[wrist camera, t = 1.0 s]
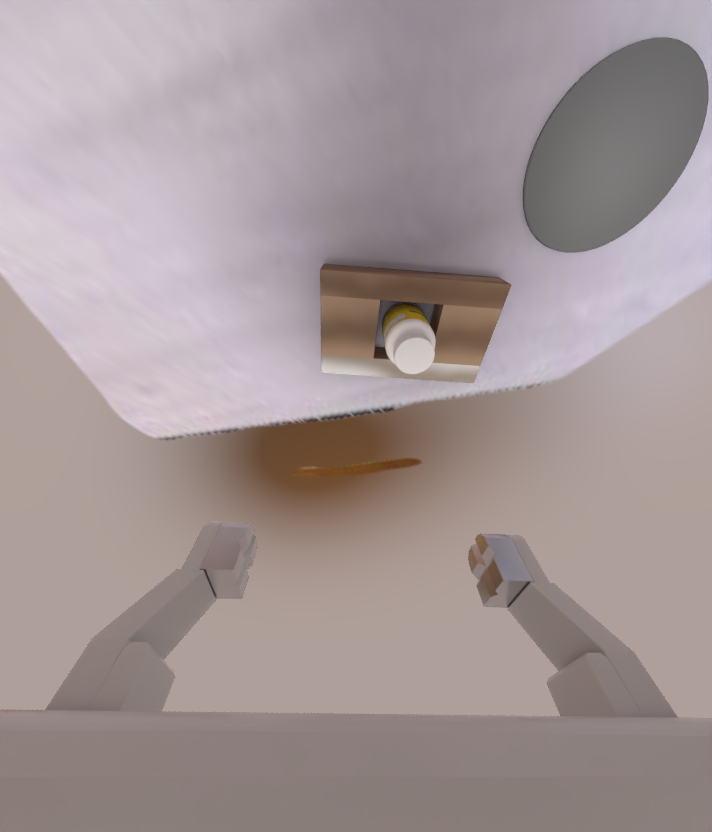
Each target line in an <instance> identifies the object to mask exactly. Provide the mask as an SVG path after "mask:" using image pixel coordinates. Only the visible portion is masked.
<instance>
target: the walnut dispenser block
mask: <svg viewBox="0 0 712 832" xmlns="http://www.w3.org/2000/svg"><path fill="white" fill-rule="evenodd" d="M320 283H321V363H322V373H335V374H349V375H364V376H378V377H393V378H407V379H421V380H436V381H450V382H465V383H474V381H475V378H476V376H477V373H478V370H479V368H480V365H481V363H482V360H483V357H484V355H485V352H486V350H487V347H488V344H489V342H490V339H491V337H492V334H493V331H494V329H495V326H496V324H497V321H498V318H499V316H500V313H501V310H502V308H503V305H504V303H505V300H506V297H507V295H508V292H509V290H510V287H511V284H509V283H508V282H506V281H504V280H502V279H500V278H497V277H485V276H472V275H459V274H447V273H434V272H421V271H408V270H396V269H383V268H370V267H357V266H345V265H332V264H324V265H323V266H322V268H321V270H320ZM380 300H388V301H401V302H414V303H428V304H435V308H434V312H433V316H432V320H431V325H430V326H431V328H432V330H433V332H434V334H435V339H436V344H435V349H434V351H435V356H434V360H433V362H432V364H431V365H430V366H429V367H428V368H427V369H426V370H425V371H423V372H421V373H418V374H407V373H404V372H402V371H401V370H400V369H399V368H398V367H397V366H396V365H395V364H394V363H393V362H392V361H391V360H390V359H389V357H388V355H387V353H386V349H385V348H378V347H375V341H376V332H377V323H378V315H379V306H380Z"/></svg>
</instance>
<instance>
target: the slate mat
mask: <svg viewBox="0 0 712 832" xmlns="http://www.w3.org/2000/svg"><path fill="white" fill-rule="evenodd" d="M707 105H708V80H707V73H706V70H705V67H704V64H703V62H702V60H701V59H700V57H699V55H698V54H697V52H696V51H695V50H693V49H692V48H691V47H690V46H689V45H688V44H686V43H684V42H682V41H680V40H676V39H672V38H652V39H647V40H642V41H640V42H637V43H634V44H632V45H629V46H627V47H625V48H623V49H621V50H619V51H618V52H616V53H614V54H612V55H610V56H609V57H607V58H606V59H604V60H603V61H602V62H600V63H599V64H597V65H596V66H595V67H593V68H592V69H591V70H590V71H589V72H588V73H586V74H585V75H584V76H583V77H582V78H581V79H580V80H579V81H578V82H577V83H576V84H575V85H574V86H573V87H572V88H571V89H570V90H569V92H568V93H567V94H566V95H565V96H564V98H563V99H562V100H561V101H560V103H559V104H558V106H557V107H556V108H555V110H554V111H553V113H552V114H551V116H550V117H549V119H548V121H547V122H546V124H545V126H544V127H543V129H542V131H541V133H540V135H539V137H538V139H537V142H536V144H535V146H534V149H533V151H532V154H531V157H530V160H529V163H528V167H527V170H526V175H525V181H524V189H523V207H524V213H525V218H526V221H527V224H528V226H529V228H530V230H531V232H532V234H533V235H534V236H535V237H536V239H537V240H539V241H540V242H541V243H542V244H543V245H545V246H547V247H549V248H551V249H554V250H557V251H562V252H583V251H588V250H591V249H595V248H598V247H600V246H603V245H605V244H607V243H609V242H611V241H613V240H615V239H617V238H618V237H620V236H622V235H623V234H625V233H626V232H628V231H629V230H630V229H632V228H633V227H635V226H636V225H637V224H638V223H639V222H641V221H642V220H643V219H644V218H645V217H646V216H647V215H648V214H649V213H650V212H651V211H652V210H653V209H654V208H655V207H656V206H657V205H658V204H659V203H660V202H661V201H662V199H663V198H664V197H665V196H666V195H667V194H668V192H669V191H670V190H671V188H672V187H673V186H674V184H675V183H676V181H677V180H678V178H679V177H680V175H681V174H682V172H683V171H684V169H685V167H686V165H687V163H688V162H689V160H690V158H691V156H692V154H693V152H694V149H695V147H696V145H697V143H698V140H699V137H700V134H701V131H702V129H703V125H704V121H705V117H706V113H707Z"/></svg>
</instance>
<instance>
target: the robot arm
mask: <svg viewBox="0 0 712 832" xmlns="http://www.w3.org/2000/svg"><path fill="white" fill-rule="evenodd" d="M254 530H255V529H254V525H253V524H250V523H230V522H215V521H208V522H207V523H206V524H205V526H204V527H203V529H202V531H201V532H200V534H199V536H198V538H197V540H196V542H195V544H194V546H193V548H192V550H191V552H190V554H189V555H188V557H187V559H186V561H185V563H184V565H183V567H182V569H176V570H175V571H174V572H173V573H172V574H170V575H169V576H168V577H167V578H165V579H164V580H163V581H162V582H160V583H159V584H158V585H157V586H155V587H154V588H153V589H152V590H151V591H149V592H148V593H147V594H146V595H144V596H143V597H142V598H141V599H140V600H138V601H137V602H136V603H135V604H134V605H132V606H131V607H130V608H129V609H127V610H126V611H125V612H124V613H123V614H121V615H120V616H119V617H118V618H116V619H115V620H114V621H113V622H112V623H110V624H109V625H108V626H107V627H105V628H104V629H103V630H102V631H101V632H99V633H98V634H97V635H96V636H94V637H93V638H92V639H91V641H90V642H89V644H88V645H87V647H86V648H85V650H84V651H83V653H82V655H81V656H80V658H79V659H78V660H77V662H76V664H75V665H74V667H73V668H72V670H71V671H70V673H69V674H68V676H67V677H66V679H65V680H64V682H63V684H62V685H61V687H60V688H59V690H58V691H57V693H56V694H55V696H54V697H53V699H52V700H51V702H50V704H49V705H48V706H47V708H46V709H45V710H0V832H712V718H678V717H677V715H676V714H675V713H674V711H673V709H672V708H671V706H670V705H669V703H668V702H667V700H666V699H665V697H664V696H663V695H662V693H661V692H660V690H659V688H658V687H657V686H656V684H655V683H654V681H653V680H652V678H651V677H650V675H649V674H648V672H647V671H646V669H645V668H644V666H643V665H642V663H641V662H640V660H639V659H638V657H637V656H636V654H635V653H634V652H633V651H632V650H631V649H630V648H629V647H627V646H626V645H625V644H624V643H623V642H622V641H620V640H619V639H618V638H617V637H616V636H615V635H613V634H612V633H611V632H610V631H609V630H608V629H607V628H605V627H604V626H603V625H602V624H601V623H599V622H598V621H597V620H596V619H595V618H594V617H593V616H591V615H590V614H589V613H588V612H587V611H585V610H584V609H583V608H582V607H581V606H580V605H579V604H578V603H576V602H575V601H574V600H573V599H572V598H571V597H569V596H568V595H567V594H566V593H565V592H564V591H562V590H561V589H560V588H559V587H558V586H557V585H555V584H554V583H549V581H548V579H547V577H546V575H545V574H544V572H543V570H542V569H541V567H540V565H539V563H538V561H537V560H536V558H535V556H534V555H533V553H532V551H531V549H530V547H529V546H528V544H527V542H526V540H525V539H524V538H523V537H522V536H519V535H505V534H504V535H503V534H479V535H477V537H476V539H475V540H476V544H474V545H473V546H471V548H470V550H469V556H468V560H469V565H470V568H471V571H472V573H473V574H474V575H475V576H476V577H477V578H478V583H477V589H478V591H479V594H480V597H481V600H482V603H483V605H484V606H486V607H502V608H508V611H509V612H510V613H511V614H512V615H513V617H514V618H515V619H516V620H517V621H518V623H519V624H520V625H521V626H522V627H523V629H524V630H525V631H526V632H527V634H529V636H530V637H531V638H532V640H533V641H534V642H535V643H536V644H537V646H538V647H539V648H540V649H541V650H542V652H543V653H544V654H545V655H546V656H547V658H548V659H549V660H550V661H551V662H552V664H553V665H554V666H555V667H556V668H557V670H558V671H559V672H557V673H556V674H554V675H553V676H551V677H549V678H548V681H547V685H548V688H549V690H550V692H551V695H552V697H553V699H554V702H555V704H556V707H557V709H558V711H559V714H560V716H504V715H503V716H502V715H501V716H500V715H495V716H494V715H417V714H416V715H415V714H333V713H331V714H329V713H246V712H245V713H244V712H241V713H240V712H163V711H162V709H163V707H164V704H165V702H166V699H167V697H168V694H169V691H170V689H171V686H172V684H173V681H174V679H175V674H174V671H173V670H172V669H171V668H170V667H169V666H168V664H167V663H166V662H165V661H164V659H165V658H166V657H167V655H168V654H169V653H170V652H171V651H172V650H173V649H174V648H175V646H176V645H177V644H178V643H179V642H180V641H181V640H182V638H183V637H184V636H185V635H186V634H187V633H188V632H189V631H190V629H191V628H192V627H193V626H194V625H195V624H196V623H197V621H198V620H199V619H200V618H201V617H202V616H203V615H204V614H205V612H206V611H207V610H208V609H209V608H210V607H211V606H212V604H213V603H214V602H215V601H216V598H239V599H240V598H242V597H243V594H244V591H245V588H246V585H247V582H248V578H249V577H248V572H247V569H249V567H251V566H252V565H253V562H254V558H255V555H256V549H257V539H256V536H254V535H253V533H254Z"/></svg>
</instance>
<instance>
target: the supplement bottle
mask: <svg viewBox="0 0 712 832" xmlns="http://www.w3.org/2000/svg"><path fill="white" fill-rule="evenodd" d="M382 331H383V337H384V343H385V349H386V353H387V355H388V357H389V359H390V360H391V361H392V362H393V363H394V364H395V365H396V366H397V367H398V368H399V369H400V370H401V371H402V372H404V373H407V374H418V373H421V372H423V371H425V370H426V369H427V368H428V367H429V366H430V365H431V364H432V362H433V360H434V356H435V351H434V349H435V344H436V339H435V334H434V332H433V330H432V328H431V326H430V325H429V323H428V321H427V319H426V317H425V316H424V314H423V312H422V311H421V309H420V308H419V307H417V306H416V305H414V304H412V303H406V302H405V303H399V304H396V305H394V306H393V307H391V308H390V309H389V310H388V311H387V312H386V314H385V316H384V318H383V322H382Z"/></svg>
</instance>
